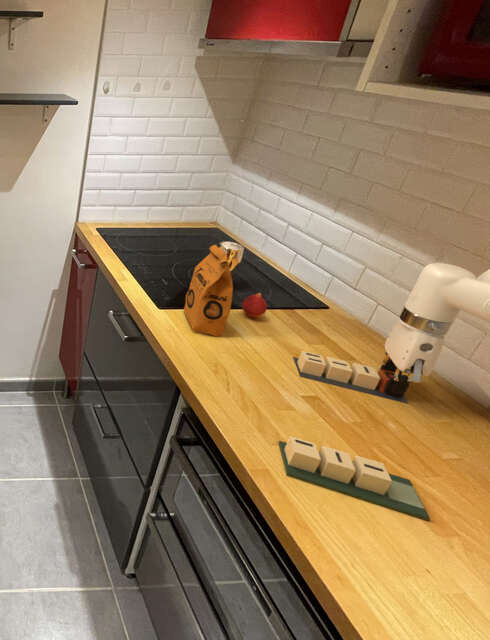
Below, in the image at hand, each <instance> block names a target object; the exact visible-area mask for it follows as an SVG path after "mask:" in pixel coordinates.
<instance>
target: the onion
mask: <svg viewBox="0 0 490 640" xmlns="http://www.w3.org/2000/svg"><path fill="white" fill-rule="evenodd" d="M241 307H242V308H241V309H242V311H243V312H244V314H246V315H247V316H248V317H249V318H252V319H253V318H256V317H257V318H258V317H261V316H263V315H265V314H266V312H267V310H268V304H267V302H266V300H265V299H264V298H263V297H262V293H260V292H257V293H256V294H251V295H249V296H247V297H246V298H244V300H243V301H242V303H241Z"/></svg>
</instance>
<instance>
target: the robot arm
mask: <svg viewBox="0 0 490 640" xmlns="http://www.w3.org/2000/svg"><path fill="white" fill-rule="evenodd" d="M460 311H461V312H464V313H467V314H469V315H471V316H474V317H475V318H478V319H480V320H482V321H486V322H489V323H490V268H489V269H488V270H486V271H484V272H483V273H481V274H479V276H477V277H476V275H475V274H474V273H473V272H472V271H469V270H468V269H465V268H463V267H461V266H457V265H455V264H449V263H444V262H432V263H428V264H426V265H425V266H424V267H423V269H422V270H421V272H420V274H419V276H418V278H417V280H416V282H415V284H414V286H413V288H412V289H411V292H410V294H409V296H408V297H407V300H406V301H405V304H404V305H403V308H402V309H401V311H400V313H399V315H398V317H397V319H398V320H397V321H396V323H395V324H394V326H393V327H392V329H391V331H390V333H389V334H388V336H387V338H386V340H385V343H384V350H385V357H384V358H383V360H382V364H381V366H380V368H379V369H383V370H387V371H391V372H395V374H394V377H393V378H390V379H389V381H388V383H387V385H386V387H385V389H384V392H385V393H387V394H391V395H395V396H399V397H402V396H403V395H404V396H405V394H406V393H407V390H408V388H409V387H410V385H413V384H421V377H424V378H428V377H429V376H430V375H431V374H432V372H433V369H434V367H435V365H436V363H437V361H438V359H439V356H440V355H441V352H442V349H443V346H444V343H445V342H444V341H445V336H446V335H447V334H448V333H449V331H450V329H451V327H452V326H453V324H454V322H455V320H456V318H457V316H458V314H459V313H460ZM403 373H406V374H407V375H406V374H403ZM401 374H402V375H401ZM408 386H409V387H408ZM404 393H405V394H404Z"/></svg>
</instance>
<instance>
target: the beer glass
mask: <svg viewBox="0 0 490 640" xmlns="http://www.w3.org/2000/svg"><path fill="white" fill-rule="evenodd" d="M218 247H219V248H220V249H221V250H222V251H223V252H225V253H226V254H227V258H228V263H229V269H230V273H231V278H232V279H234V276H235V275H236V273H237V271H238V270H239V267H240V265H241V262H242V259H243V254H244V250H245V247H244V246H243V245H241V244H240V243H237V242H234V241H227V240H226V241H221V242H219V245H218Z"/></svg>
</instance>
